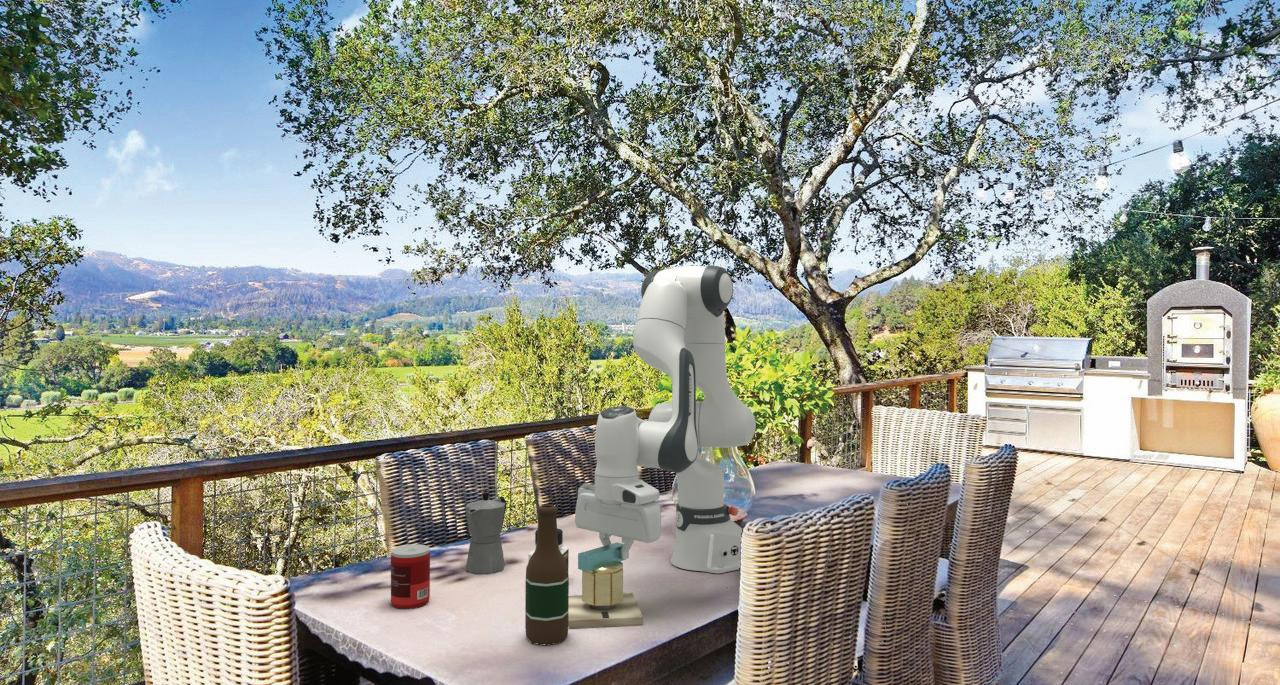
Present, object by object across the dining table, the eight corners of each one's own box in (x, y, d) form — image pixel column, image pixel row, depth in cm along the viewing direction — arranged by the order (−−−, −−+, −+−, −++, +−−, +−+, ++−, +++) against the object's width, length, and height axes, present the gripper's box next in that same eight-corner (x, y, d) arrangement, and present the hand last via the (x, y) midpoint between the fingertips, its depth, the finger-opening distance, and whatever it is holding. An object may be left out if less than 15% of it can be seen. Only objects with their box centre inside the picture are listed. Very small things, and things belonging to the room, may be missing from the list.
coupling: (568, 600, 155) (568, 550, 155) (607, 587, 163) (607, 540, 163) (597, 610, 150) (597, 558, 149) (636, 596, 158) (636, 547, 158)
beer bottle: (568, 645, 140) (568, 510, 140) (523, 646, 140) (524, 511, 140) (568, 629, 148) (569, 501, 148) (526, 630, 148) (527, 501, 147)
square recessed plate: (564, 603, 162) (565, 571, 162) (632, 600, 164) (632, 568, 164) (568, 628, 148) (569, 593, 148) (642, 624, 151) (643, 590, 150)
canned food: (431, 595, 167) (431, 543, 167) (427, 608, 159) (428, 553, 159) (393, 597, 165) (393, 544, 165) (388, 610, 158) (388, 555, 157)
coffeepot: (487, 579, 178) (488, 499, 178) (452, 574, 181) (452, 495, 181) (521, 560, 192) (522, 486, 192) (488, 556, 195) (488, 483, 195)
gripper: (568, 484, 163) (567, 551, 163) (646, 497, 150) (645, 570, 151) (588, 479, 168) (588, 544, 168) (666, 492, 155) (665, 562, 156)
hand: (616, 556), depth 159 cm, fingers closed on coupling, 2 cm apart
